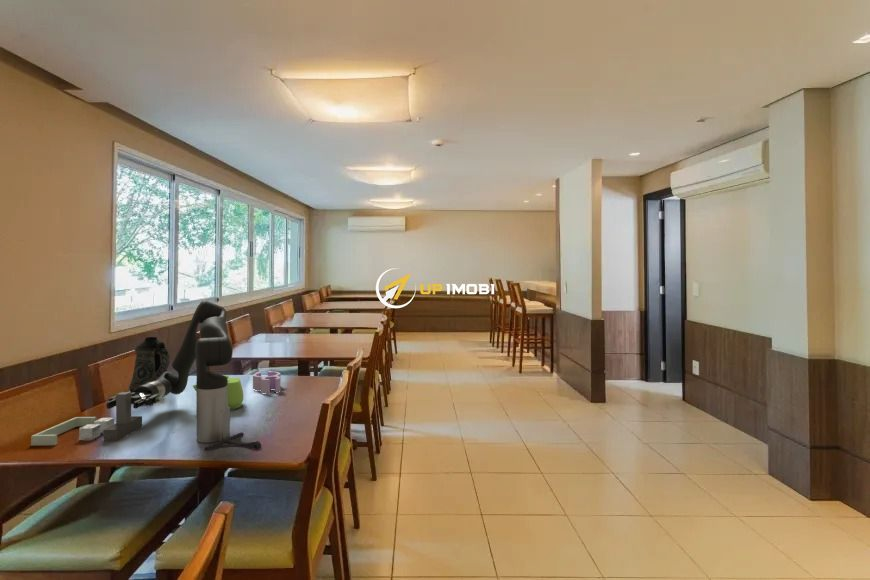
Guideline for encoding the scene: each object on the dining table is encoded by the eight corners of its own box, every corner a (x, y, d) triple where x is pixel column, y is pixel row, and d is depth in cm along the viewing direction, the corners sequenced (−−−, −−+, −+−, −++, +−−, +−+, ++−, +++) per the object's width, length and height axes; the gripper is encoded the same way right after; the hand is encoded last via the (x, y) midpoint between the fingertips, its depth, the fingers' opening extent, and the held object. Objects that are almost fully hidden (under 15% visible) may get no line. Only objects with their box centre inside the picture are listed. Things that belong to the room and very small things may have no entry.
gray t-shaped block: (142, 427, 158) (142, 388, 157) (116, 442, 144) (116, 398, 143) (130, 427, 157) (130, 388, 157) (103, 442, 143) (103, 398, 143)
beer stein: (143, 387, 214) (143, 335, 213) (184, 387, 214) (184, 335, 214) (120, 396, 197) (119, 339, 197) (164, 396, 198) (164, 340, 197)
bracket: (242, 459, 132) (242, 450, 132) (204, 452, 138) (204, 443, 138) (275, 443, 146) (275, 434, 146) (239, 437, 151) (240, 428, 151)
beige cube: (114, 429, 156) (114, 417, 155) (106, 433, 152) (106, 421, 151) (102, 429, 155) (102, 417, 155) (94, 433, 151) (94, 421, 151)
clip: (286, 392, 207) (286, 377, 207) (258, 396, 201) (258, 380, 200) (276, 383, 224) (276, 370, 224) (250, 386, 218) (250, 372, 217)
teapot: (189, 417, 169) (189, 383, 169) (196, 403, 188) (196, 372, 187) (242, 412, 176) (242, 379, 175) (244, 399, 194) (244, 369, 194)
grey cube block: (100, 436, 149) (100, 424, 148) (92, 440, 145) (92, 428, 144) (87, 436, 148) (87, 424, 148) (79, 440, 144) (79, 428, 144)
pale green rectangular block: (96, 425, 159) (96, 416, 159) (54, 445, 140) (54, 435, 140) (75, 425, 158) (75, 417, 158) (31, 445, 139) (31, 436, 139)
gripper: (128, 383, 165) (98, 394, 148) (169, 383, 165) (143, 394, 149) (129, 403, 165) (98, 417, 149) (169, 403, 166) (143, 416, 149)
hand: (121, 405), depth 149 cm, fingers open, 8 cm apart
